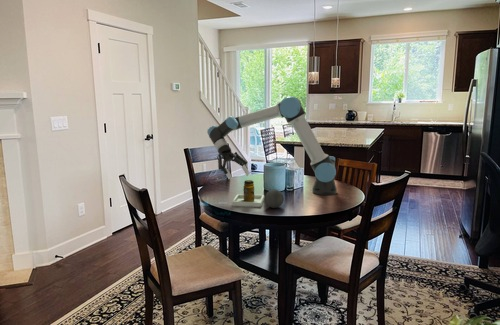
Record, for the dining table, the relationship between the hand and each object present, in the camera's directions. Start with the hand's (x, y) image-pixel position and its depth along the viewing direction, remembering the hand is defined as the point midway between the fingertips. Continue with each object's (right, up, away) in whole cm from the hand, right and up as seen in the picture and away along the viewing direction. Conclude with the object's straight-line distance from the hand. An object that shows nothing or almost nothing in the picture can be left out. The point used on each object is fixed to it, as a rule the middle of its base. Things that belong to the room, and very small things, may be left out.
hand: (239, 176), depth 203 cm
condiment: (+5, -15, -3) cm, 16 cm away
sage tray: (+5, -15, -3) cm, 16 cm away
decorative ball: (+19, -17, -12) cm, 28 cm away
